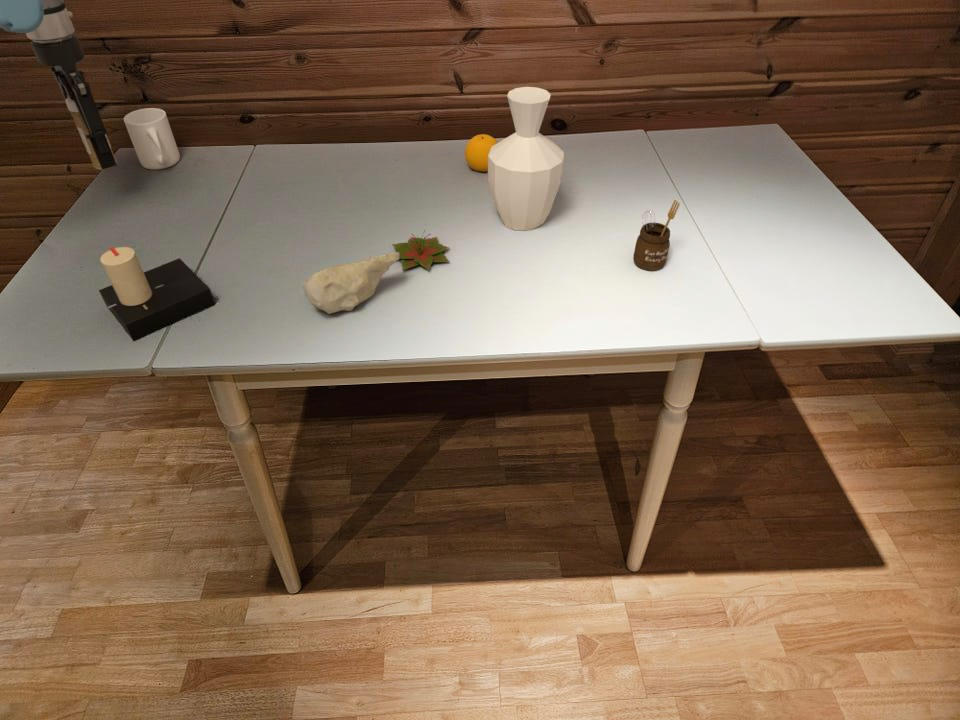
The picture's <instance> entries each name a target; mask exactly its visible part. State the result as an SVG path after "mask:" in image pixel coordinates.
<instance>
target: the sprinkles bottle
mask: <svg viewBox="0 0 960 720" xmlns="http://www.w3.org/2000/svg"><path fill="white" fill-rule="evenodd" d="M64 101H65V104H66V107H67V110H68V111H69V112H71V113H70V115H71V114H72V115H71V117H72V116H73V118H74V119H73V118H72V119H73V122H74V123H75V126H76V129H77V131H78V133H79V136H80V138H81V141H82V144H83V145H84V148H85V151H86V152H87V154H88V155H89V158H90V161H91V163H92V167H93V168H94V169H95V170H101V171H104V170H108V169H112V168H114V167H115V166H113V167H110V168H106V169H102V168H101V166H100V163H99V161H98V159H97V156H96V154H95V151H94V149H93V147H92V144H91V142H90V139H87V138H86V136H85V135H89V133H88V131H87V129H86V126H85V124H84V122H83V120H82V118H81V116H80V113H79V111H78V109H77V107H76V104H75V103H74V101H73V100H71V99H70V98H69V97H68V98H67V99H66V100H65V99H64ZM105 137H106V139H107V142H108V144H109V147H110V149H111V152H112V154H113V157H114V159H115V162H116V164H118V160H117V158H116V157H115V154H114V151H113V149H112V145H111V142H110V140H109V138H108V135H107V134H105Z"/></svg>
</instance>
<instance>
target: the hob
mask: <svg viewBox="0 0 960 720" xmlns="http://www.w3.org/2000/svg"><path fill="white" fill-rule="evenodd" d="M143 272H144V274H145V277H146V279H147V281H148V284H149V286H150V288H151V290H152V296H151V297H150V299H149V300H147V301H146V302H144V303H142V304H139V305H135V306H126V305H123V304H122V303H121V302H120V300H119V298H118V296H117V294H116V292H115V290H114V288H113V286H112V284H111V285H109V286H106V287H104V288H101V289H99V290H98V292H99V294H100V296H101V298H102V300H103V302H104V304H105V306H106V308H107V309H108V310H109V312H111V314H112V315H113V316H114V318H115V320H117V322H118V323H119V324H120V326H121V327H122V328H123V329H124V331H125V332H126V333H127V335H128V336H129V337H130V339H131V340H132V341H133V342H135V341H137V340H140V339H142V338H145V337H147V336H149V335H152V334H153V333H156V332H158V331H160V330H162V329H165V328H166V327H169V326H172V325H173V324H176V323H178V322H180V321H183V320H184V319H187V318H189V317H191V316H193V315H196V314H198V313H200V312H202V311H205V310H207V309H209V308H212V307H214V306H216V302H215V299H214V297H213V294H212V291H211V288H210V287H209V286H208V285H207V284H206V283H205V282H204V281H203V280H202V279H201V278H200V277H199V276H198V275H197V274H196V273H195V272H194V271H193V270H192V268H190V266H188V265H187V264H186V263H185V261H183V260H182V259H181V258H180V257H179V258H176V259H174V260H171V261H169V262H166V263H164V264H161V265H158V266H157V267H154V268H151V269H149V270H146V271H143Z"/></svg>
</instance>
